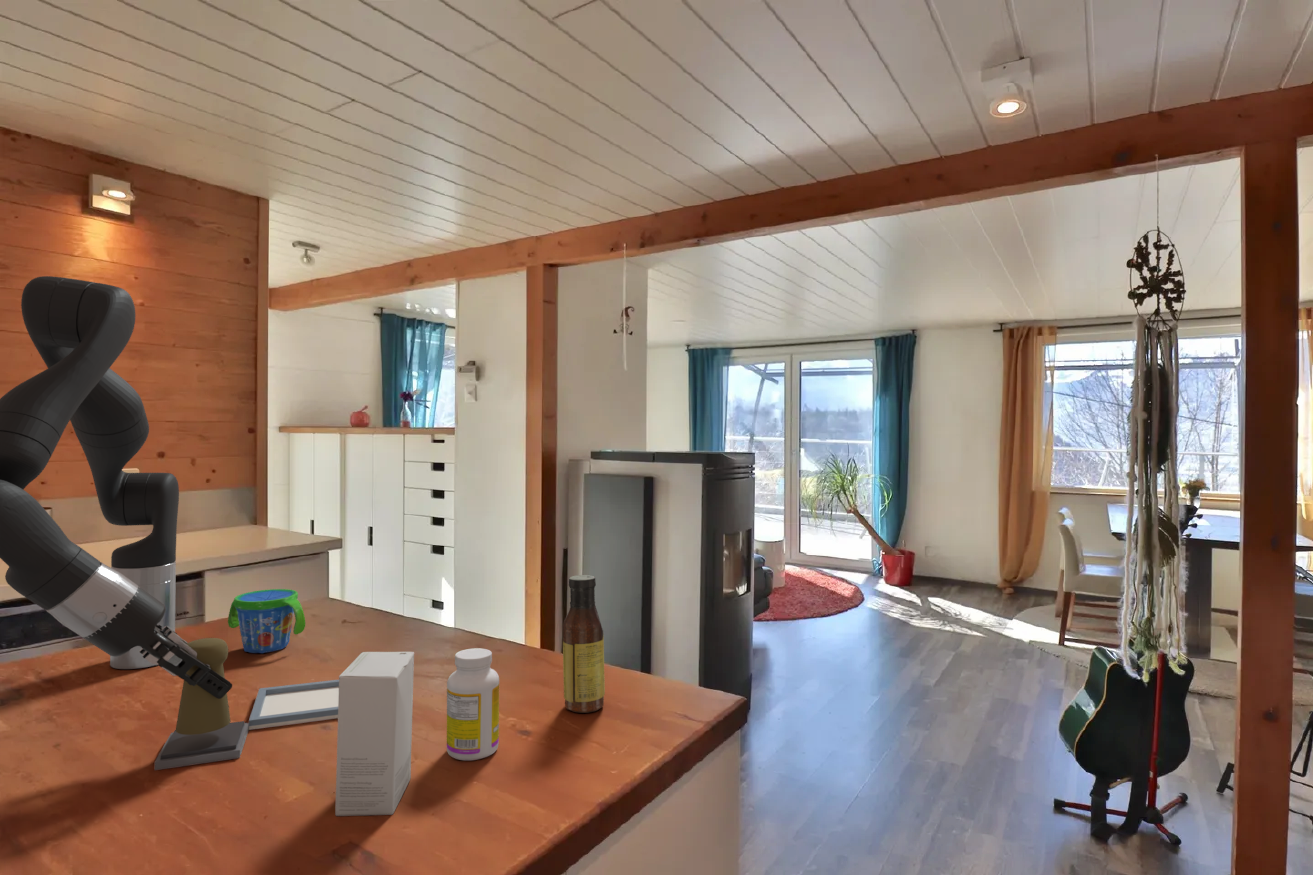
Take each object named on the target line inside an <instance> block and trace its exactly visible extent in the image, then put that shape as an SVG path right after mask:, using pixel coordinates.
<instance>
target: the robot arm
mask: <svg viewBox="0 0 1313 875" xmlns="http://www.w3.org/2000/svg"><path fill="white" fill-rule="evenodd" d="M20 303H21V304H20V306H21V307H20V308H21V316H22V319H23V323H24V326H25V328H26V331H27V333H28V335H29V337H30V340H31V342H32V343H33V345H34V347H35V349H36V350H37V352H38V354H39V355H40V357H41V358H42V361H43V362H44V365H46V367H47V368H46V369H45V370H42V371H41V372H39V373H37V374H36V375H33V376H32V377H30V378H28V379H26V380H25V381H23V382H22V383H19V384H17V385H16V386H15V387H13V388H11V389H10V390H9V391H7V392H6V393H5V394H4V395H3V396H1V397H0V560H1V561H2V562H4V564H6V565H7V566H8V568H7V570H6V572H5V575H4V576H5V578H4V579H5V582H6V583H7V585H9V586H10V587H11V588H12V589H13V590H14V591H15V592H17V593H19V595H21V596H23V597H24V598H26V599H27V600H28V601H30V602H32V603H33V604H35V605H36V606H38V607H40V608H41V609H43V610H44V611H46V613H48V614H50V615H51V616H52V617H53V618H54V619H55V620H57V622H59V623H60V624H61V625H62V626H64V627H66V628H67V629H69V630H71V631H72V632H73V633H74V634H77V635H78V636H79V637H81V638H82V639H84V640H86V641H87V642H89V643H90V644H91V645H94V646H95V647H97V649H99V650H101V651H103V652H104V653H105V654H107V655H108V656H110V657H109V658H110V659H109V660H110V661H109V667H111V668H113V669H116V670H117V669H119V670H133V669H142V668H148V667H149V668H150V667H154V666H158V667H160V668H162V669H163V670H164V671H166V672H167V673H168V674H170V675H172V676H173V677H178V678H180V679H182V680H183V681H184V680H185V681H186V682H188V684H189V685H193V686H195V685H196V684H197V685H198V686H200V687H201V688H203V689H204V690H206V691H207V692H209V693H210V694H211V695H213V696H214V697H216V698H218V699H221V698H223V697H224V696H225V694H226V693H227V694H228V693H229V692H230V690H231V689H232V688H233V684H232V683H231V682H230V681H229V680H228V679H226V677H225V678H224V677H222V676H221V675H219V674H218V673H216V672H215V671H213V670H212V669H211V668H210V665H208V664H205V663H203V662H202V661H200V660H199V659H198V658H197V652H196V651H195V650H194V649H192V648H191V647H189V646H188V645H187V644H188V643H189V642H187V641H186V640H185V639H183V638H182V637H181V636H180V635H178V633H177V632H176V577H177V576H176V572H177V570H176V569H177V568H176V567H177V565H176V564H177V563H176V562H177V561H176V560H177V531H178V530H177V528H178V516H179V515H178V514H179V503H180V502H179V500H180V489H179V488H180V486H179V483H178V479H177V477H176V476H175V475H174V474H173V473H170V472H126V471H124V470H123V469H124V467H125V466H126V465H127V463H128V462H130V460H131V459H132V458H133V457H135V456H136V454H137V453H138V452H139V451H140V450H141V449H142V448H143V446H144V444H145V443H146V441H147V439H148V436H149V433H150V425H149V421H148V417H147V414H146V410H145V406H144V403H143V400H142V397H141V396H140V394H139V393H138V392H137V390H136V389H135V388H134V387H133V386H132V385H131V384H130V383H128V382H127V381H126V380H125V379H124V378H123V377H121V376H120V375H119V374H118V373H116V372H115V371H114V370H113V369H112V368H111V367H112V365H113V364H114V363H115V362H116V361H117V359H118V358H119V357H120V355H121V354H122V352H123V351H124V350H125V348H126V347H127V344H128V343H129V341H130V339H131V337H132V335H133V332H134V329H135V324H136V306H135V303H134V300H133V298H132V297H131V294H130V293H129V292H128V291H127V290H125V289H124V288H122V287H119V286H114V285H111V284H106V283H103V282H102V283H101V282H95V281H89V280H88V281H87V280H82V279H75V278H68V277H63V276H62V277H61V276H51V275H50V276H49V275H44V276H37V277H35V278H33V279H31V280H29V282H27V283H26V284H25V286H24V288H23V291H22V295H21V302H20ZM69 422H70V423H71V425H72V429H73V430H74V433H75V436H76V438H77V440H78V442H79V444H80V447H81V448H82V450H83V453H84V455H85V457H86V460H87V464H88V466H89V469H90V472H91V474H92V480H93V483H94V487H95V491H96V496H97V500H98V504H99V508H100V511H101V513H102V516H103V518H104V519H105V520H106V521H107V522H108V523H109V524H110V525H111V524H112V525H113V526H114V525H115V526H119V527H120V526H122V527H125V526H126V527H127V526H131V527H132V526H152V531H151V533H149V534H148V535H146V536H145V537H143V538H142V539H139V540H137V541H135V542H130V543H129V544H128V543H127V544H125V545H121V546H119V547H117V548H115V549H113V551H112V552H111V557H110V559H111V561H110V562H111V563H110V564H111V565H110V566H108V565H107V564H105V563H103V562H102V561H100V560H99V559H97V558H96V557H95V556H93V555H92V554H90V553H89V552H88V551H86V550H85V549H83V547H81V546H79V545H78V544H76V543H74V542H73V541H71V540H70V539H69V537H67V535H66V534H65V532H64V531H63V529H62V528H61V526H59V524H58V523H57V522H56V520H55V519H53V517H52V516H51V515H50V514H49V512H48V511H47V510H46V509H45V508H44V507H43V506H42V504H41V503H40V502H39V501H38V500H37V499H36V498H35V497H33V496H32V495H31V494H30V492H28V491H26V490H25V488H26V487H28V486H29V484H30V483H31V482H33V481H34V480H35V479H37V477H39V476H40V475H41V473H42V472H43V471H44V469H45V468H46V466H47V465H48V463H49V462H50V459H51V457H52V456H53V454H54V452H55V450H56V447H57V446H58V443H59V442H60V439H61V438H62V435H63V433H64V431H65V429H66V428H67V425H68V424H69ZM185 650H186V651H187V652H188V653H187V652H186V651H185ZM194 665H197V666H198V667H199V668H198V669H197V670H196V671H195V672H194V673H193V674H192V675H191V676H190V675H189V674H187V673H186V672H187V671H188V670H189V669H190V668H191V667H192V666H194Z"/></svg>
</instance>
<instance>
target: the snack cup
mask: <svg viewBox="0 0 1313 875" xmlns="http://www.w3.org/2000/svg"><path fill="white" fill-rule="evenodd" d="M298 597H299V594H298V591H296V590H295V589H294V590H293V589H289V588H273V589H272V588H270V589H261V590H260V589H259V590H254V591H248V592H246V593H241V594H239V595H236V596H235V597H234V598H233V601H232V603H231V604H230V609H229V612H228V617H227V625H228V627H229V628H230V629H235V628H238V627H239V632H240V637H241V644H242V647H243V651H244V652H248V653H251V654H264V653H265V654H266V653H271V652H276V651H280V650H283V649H284V648H286V647H287V646H288V645H289V643H290V638H291V634H292V633H291V632H292V627H293V634H294V635H300V634H301V633H303V632H304V630H305V628H306V616H305V613H304V610H303V606H302V603H301V602H300V601H299V599H298ZM294 618H295V622H294V621H293V620H294ZM293 622H294V626H293Z"/></svg>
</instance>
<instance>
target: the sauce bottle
mask: <svg viewBox="0 0 1313 875" xmlns="http://www.w3.org/2000/svg"><path fill="white" fill-rule="evenodd" d="M568 586H569V589H570V591H569V592H570V596H569V597H570V602H569V606H570V607H569V611H568V613H567V614H566V616H565V618H564V621H563V622H562V623H563V624H562V626H563V627H562V628H563V631H562V632H563V639H562V668H563V670H562V671H563V672H562V676H563V677H562V678H563V698H564V707H565V709H566V710H569V711H572V712H573V713H578V714H579V713H580V714H581V713H582V714H584V713H585V714H588V713H592V712H593V713H594V712H597V711H598V710H600V709H601V708H603V706H604V704H605V702H604V700H605V699H604V698H605V697H604V696H605V694H606V692H605V691H606V689H605V686H606V685H605V683H606V682H605V642H604V641H605V640H604V637H605V636H604V635H605V634H604V629H603V626H602V623H601V620H600V616H599V614H598V610H597V605H596V599H595V598H596V597H595V596H596V595H595V590H596V589H595V588H596V577H595V576H593V575H589V574H580V575H579V574H576V575H572V576H570V577H569V578H568Z"/></svg>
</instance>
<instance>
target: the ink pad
mask: <svg viewBox="0 0 1313 875" xmlns="http://www.w3.org/2000/svg"><path fill="white" fill-rule="evenodd" d="M249 731H250V730H249V722H245V720H243V721H242V720H241V721H235V722H234V721H233V722H230V723H229V724H228V725H227V726H225V727H223V728H221V729H218V730H215V731H212V732H208V733H203V734H195V735H184V734H179V733H177V732H176V729H174V731H173V732H170V734H169V736H168V738H167V739H166V742H165V743H164V745H163V747H162V748H161V750H160V751H159V753H158V755H157V757H156V758H155V760H154V771H159V770H166V769H172V768H180V767H187V766H192V765H193V766H194V765H200V764H207V763H215V762H221V761H228V760H236V759H240V758H241V756H240V755H242V752H243V749H244V745H245V743H246V739H247V736H248V733H249Z"/></svg>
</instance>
